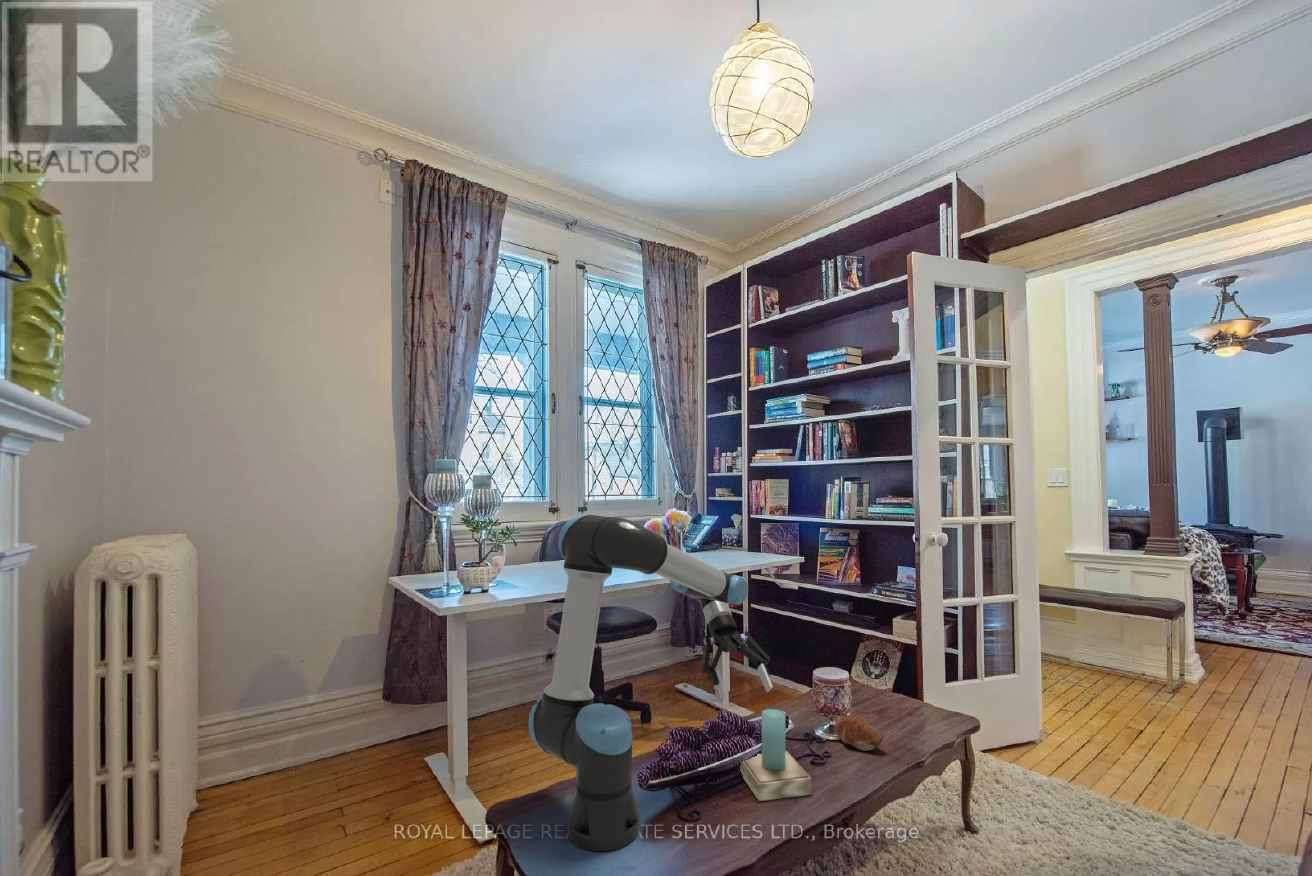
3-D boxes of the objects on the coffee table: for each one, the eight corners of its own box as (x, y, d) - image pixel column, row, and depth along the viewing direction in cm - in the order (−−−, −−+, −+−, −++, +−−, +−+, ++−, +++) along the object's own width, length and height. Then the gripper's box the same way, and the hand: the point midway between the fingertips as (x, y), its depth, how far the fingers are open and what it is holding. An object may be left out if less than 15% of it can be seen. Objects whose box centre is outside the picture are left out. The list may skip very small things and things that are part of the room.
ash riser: (758, 801, 129) (758, 782, 129) (738, 771, 141) (738, 755, 142) (811, 794, 131) (811, 776, 131) (787, 766, 144) (787, 749, 144)
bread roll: (826, 722, 161) (846, 696, 159) (847, 731, 164) (868, 705, 162) (848, 759, 149) (870, 731, 147) (870, 769, 152) (893, 741, 150)
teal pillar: (767, 772, 133) (767, 719, 134) (757, 760, 139) (758, 710, 139) (789, 770, 134) (789, 717, 135) (779, 758, 140) (779, 708, 141)
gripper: (753, 623, 169) (782, 693, 154) (676, 631, 160) (699, 706, 145) (762, 609, 165) (793, 679, 150) (684, 616, 156) (708, 692, 141)
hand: (747, 693), depth 147 cm, fingers open, 13 cm apart
